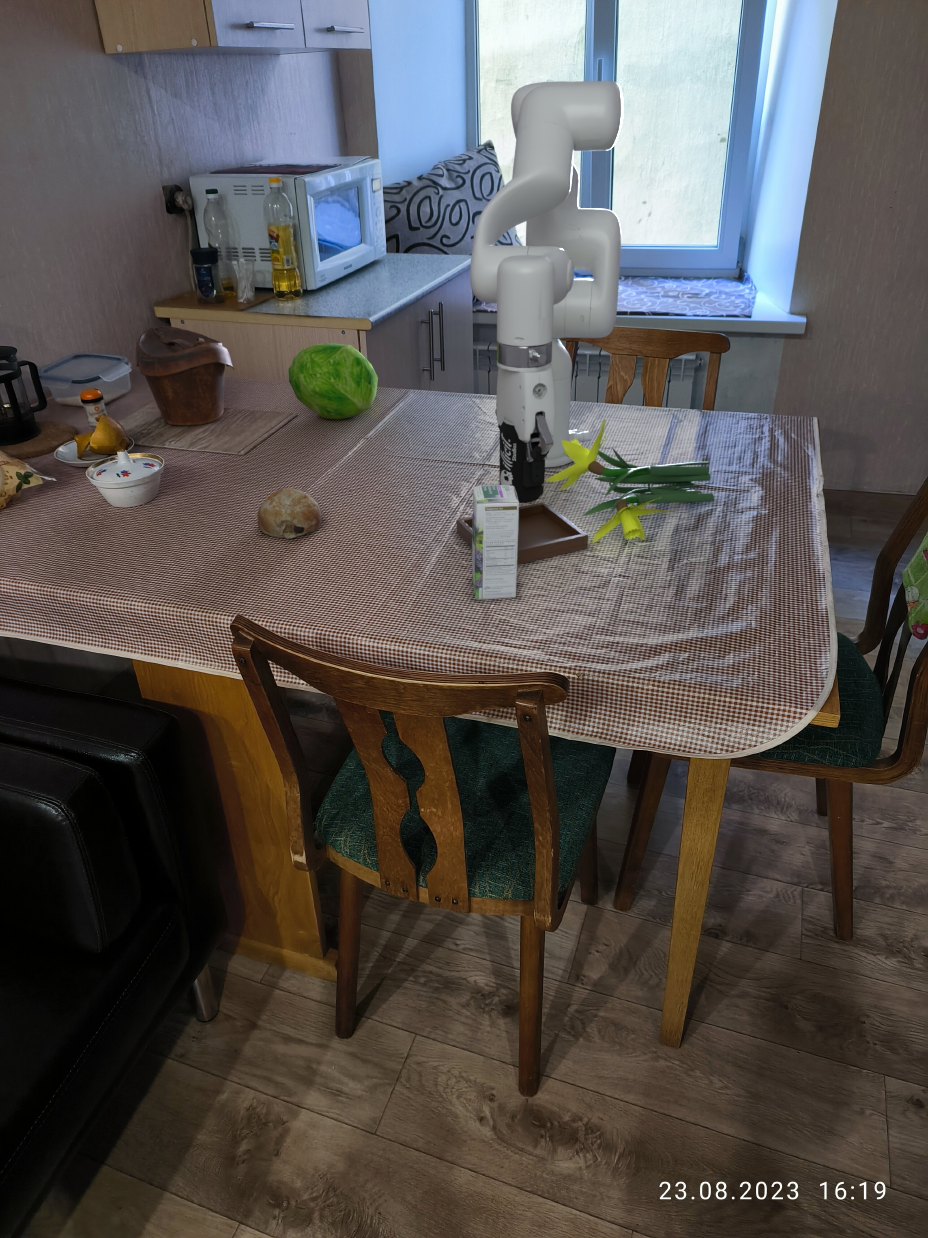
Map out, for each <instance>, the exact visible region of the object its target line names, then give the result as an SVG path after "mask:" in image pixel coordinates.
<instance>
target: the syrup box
mask: <svg viewBox="0 0 928 1238" xmlns="http://www.w3.org/2000/svg"><path fill="white" fill-rule="evenodd" d="M519 507H520V503H519V501H518V497H517V493H516V491H515V488H514V486H510V485H499V484H487V485H486V484H485V485H484V484H483V485H476V486H473V488H472V517H473V531H472V547H471V551H472V553H471V554H472V555H471V556H472V557H471V558H472V559H471V564H472V566H471V567H472V569H471V571H472V575H471V576H472V589H473V593H474V599H475V600H476V601H481V600H482V601H483V600H497V599H498V600H499V599H510V598H511V599H513V598H517V585H518V583H517V582H518V565H517V552H518V522H519Z"/></svg>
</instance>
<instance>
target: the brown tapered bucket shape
mask: <svg viewBox="0 0 928 1238" xmlns="http://www.w3.org/2000/svg"><path fill="white" fill-rule="evenodd" d="M134 356H135V358H134V367H135V368H139V371H140V372H139V373H140V374H141V375H142V376H143V377H145V380H146V382H147V384H148V386H149V389H150V391H151V394H152V396H153V398H154V400H155V403H156V405H157V407H158V411H159V412H160V414H161V417H162V420H163V421H164V422H166V423H167V424H168V425H172V426H177V427H178V426H179V427H180V426H181V427H182V426H183V427H185V426H187V427H189V426H202V425H206V424H211V423H213V422H215V421H217V420H219V419H220V418H221V417H222V416H223V415H224V407H225V406H224V404H225V403H224V401H225V379H226V378H225V376H226V375H225V374H226V367H228V368H229V367H230V368H231V369H233V370H234V371H235V370H236V369H235V368H234V366H233V363H232V360H231V355H230V352H229V350H228V348H226V347H225V346H224V345H223V343H222V341H219V340H216V339H215V338H212V337H209V336H207V335H204V334H201V333H199V332H195V331H192V330H189V329H185V328H184V329H183V328H180V327H174V326H167V325H160V326H158V325H157V326H152V327H150V328H147V329H146V330H145V331H143V332H142V333H141V334H140V335H139V337H138V339H137V341H136V343H135V355H134Z"/></svg>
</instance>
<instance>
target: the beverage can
mask: <svg viewBox="0 0 928 1238" xmlns="http://www.w3.org/2000/svg"><path fill="white" fill-rule="evenodd" d="M499 436H500V440H499V471H498V472H499V474H498V475H499V478H498V479H499V480H498V482H499V483H498V485H510V486H514V488H515V491H516V493H517V497H518V501H519V504H529V503H534V502H536V501H538V500H539V499H540V498H541V497H542V495H543V494H544V491H545V490H544V489H545V483H544V484H543V485H539V486H533V487H528V488H526V487H524V486H523V465H524V460H527V459H526V454H525V448H524V441H522V440H520V439H519V436H518V434H517V432H516V429H515V424H514V423H510V422H508V421H506V420H504V417H503V423H502V424H501V426H500V430H499ZM537 437H539V436H538V433H537V432H535V433H532V434H530V438H537ZM536 446H538V442H535V443H531V448H532V451H533V450H534V448H535V447H536Z"/></svg>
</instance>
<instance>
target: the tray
mask: <svg viewBox="0 0 928 1238" xmlns="http://www.w3.org/2000/svg"><path fill="white" fill-rule="evenodd" d="M472 531H473V516H469V517H464V518H459V519H456V534H457V536H459V537H460V538H461V539H462V540H463V541H464V542H465V543H466V544H467V545H468V546H469V547H470V548H472ZM588 547H589V534H588V533H587V532H585V531H584V530H582V529H581V528H580V527H578V526H577V525H575V524H574V523H573V522H572V521H571V520H569V519H568V518H566V517H565V516H564V515H563V514H562V513H560V512H559V511H558V510H556V509H555V508H554V507H553V506H551V505H550V504H549V503H547V502H546V501H542V502H537V503H533V504H527V505H522V506H519V522H518V552H517V566H519V565H523V564H527V563H532V562H536V561H539V560H544V559H549V558H554V557H558V556H561V555H566V554H571V553H574V552H579V551H584V550H588Z"/></svg>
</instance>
